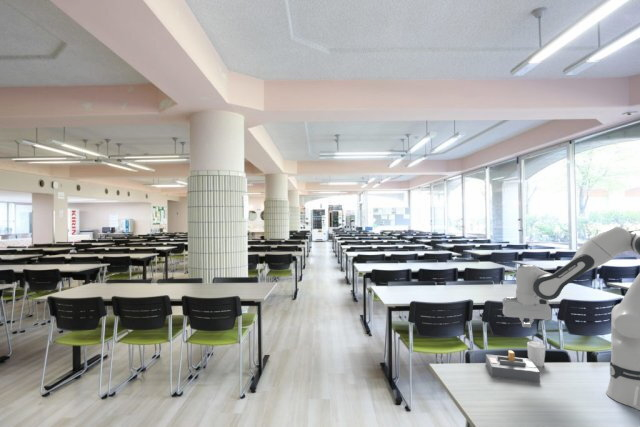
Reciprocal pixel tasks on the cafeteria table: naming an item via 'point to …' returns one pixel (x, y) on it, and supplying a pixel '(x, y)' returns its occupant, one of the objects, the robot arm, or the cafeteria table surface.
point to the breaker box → (512, 368)
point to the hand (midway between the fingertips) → (526, 326)
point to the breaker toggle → (511, 356)
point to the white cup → (536, 353)
